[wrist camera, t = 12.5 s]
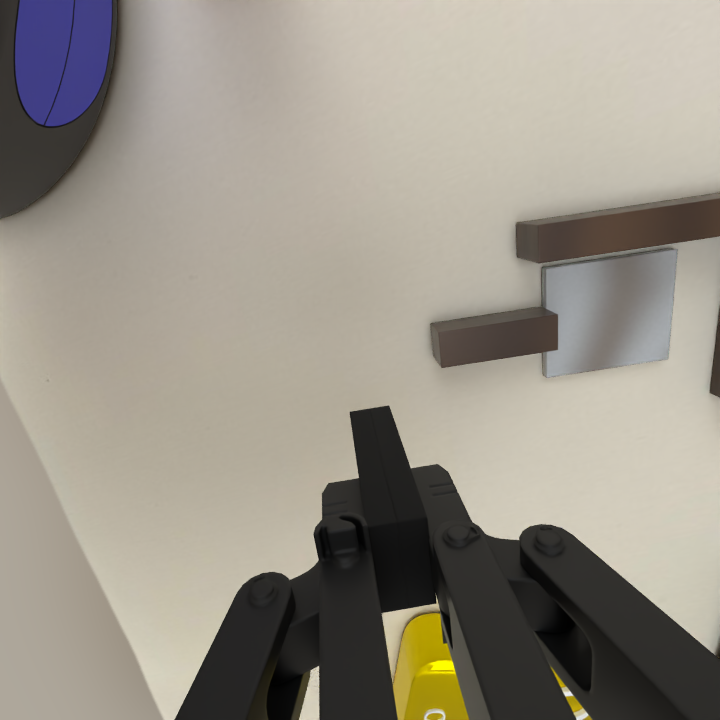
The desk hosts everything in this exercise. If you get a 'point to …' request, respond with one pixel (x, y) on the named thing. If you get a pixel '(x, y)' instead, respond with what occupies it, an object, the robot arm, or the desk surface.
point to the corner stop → (623, 235)
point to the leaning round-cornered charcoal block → (49, 89)
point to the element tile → (437, 676)
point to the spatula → (576, 318)
